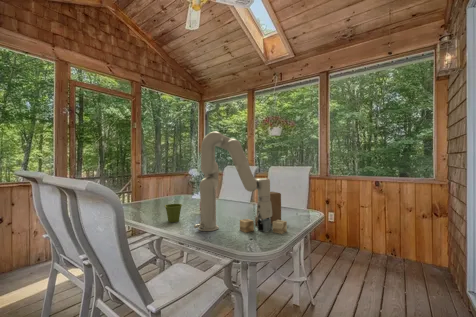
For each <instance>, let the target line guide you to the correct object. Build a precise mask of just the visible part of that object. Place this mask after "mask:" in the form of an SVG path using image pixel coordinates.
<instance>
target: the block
mask: <svg viewBox="0 0 476 317" xmlns="http://www.w3.org/2000/svg"><path fill="white" fill-rule="evenodd" d="M270 201H271V204H272V213H273V215H272V217H271V225H273V221H276V220H282V193H281V192H275V191H270Z"/></svg>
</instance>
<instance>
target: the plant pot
mask: <svg viewBox="0 0 476 317" xmlns="http://www.w3.org/2000/svg"><path fill="white" fill-rule="evenodd" d="M182 206H183V204H182V203H170V204H169V203H168V204H165V205H164V207H165V210H166V216H167V222H168V223H177V222H178V223H179V221H180V215H181V210H182Z"/></svg>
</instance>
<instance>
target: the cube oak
mask: <svg viewBox="0 0 476 317" xmlns="http://www.w3.org/2000/svg"><path fill="white" fill-rule="evenodd" d="M254 223H255V221H254V220H253V219H249V218H245V219H240V220H239V231H241V232H242V233H251V232H254V231H255V229H254V228H255V227H254V226H255V224H254Z"/></svg>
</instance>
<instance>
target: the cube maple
mask: <svg viewBox="0 0 476 317" xmlns="http://www.w3.org/2000/svg"><path fill="white" fill-rule="evenodd" d="M287 228H288V223H287V220H282V219H281V220H276V221H273V224H272V233H276V234H281V235H283V234H284V233H286V232H288V230H287Z"/></svg>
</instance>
